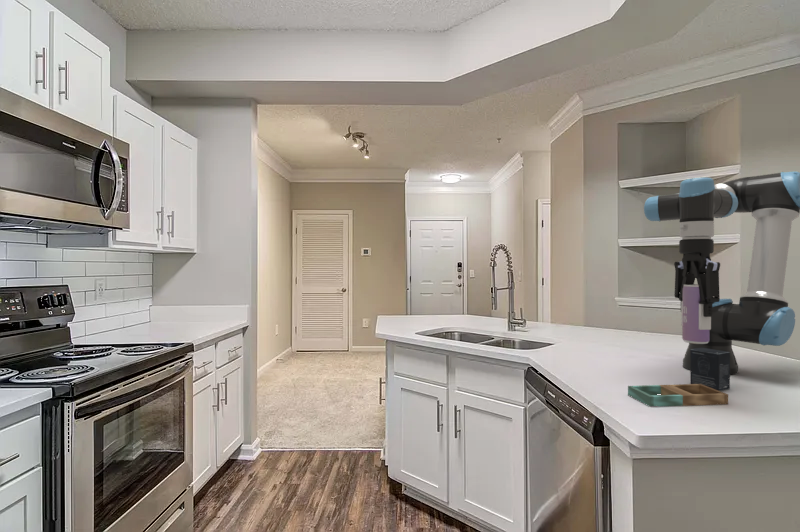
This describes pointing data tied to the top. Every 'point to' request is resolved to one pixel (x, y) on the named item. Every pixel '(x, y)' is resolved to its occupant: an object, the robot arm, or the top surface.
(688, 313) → the beverage can
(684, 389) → the holder board
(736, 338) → the robot arm
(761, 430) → the top surface
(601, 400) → the top surface
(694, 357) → the box
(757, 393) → the top surface
